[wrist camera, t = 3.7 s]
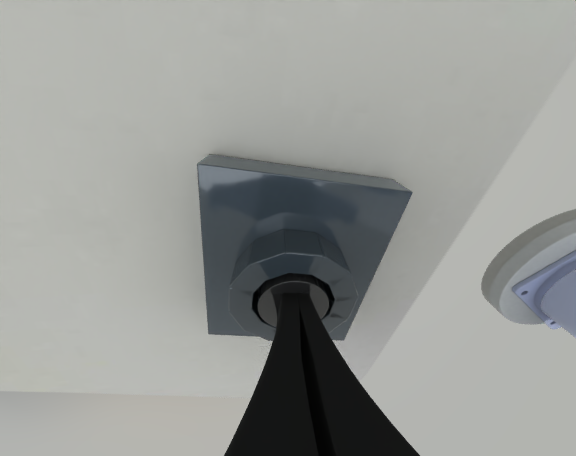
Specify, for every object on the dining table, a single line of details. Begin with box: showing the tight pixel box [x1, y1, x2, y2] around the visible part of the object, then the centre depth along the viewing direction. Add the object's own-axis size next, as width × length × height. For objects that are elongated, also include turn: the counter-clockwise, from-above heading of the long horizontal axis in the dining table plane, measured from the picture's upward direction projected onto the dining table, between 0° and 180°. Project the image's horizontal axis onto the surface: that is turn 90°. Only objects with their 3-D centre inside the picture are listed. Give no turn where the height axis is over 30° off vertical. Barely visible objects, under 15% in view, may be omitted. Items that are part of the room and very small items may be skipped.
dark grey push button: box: [258, 273, 329, 327], centre depth 12 cm, size 4×4×2 cm
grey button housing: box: [197, 154, 412, 341], centre depth 13 cm, size 12×10×4 cm
